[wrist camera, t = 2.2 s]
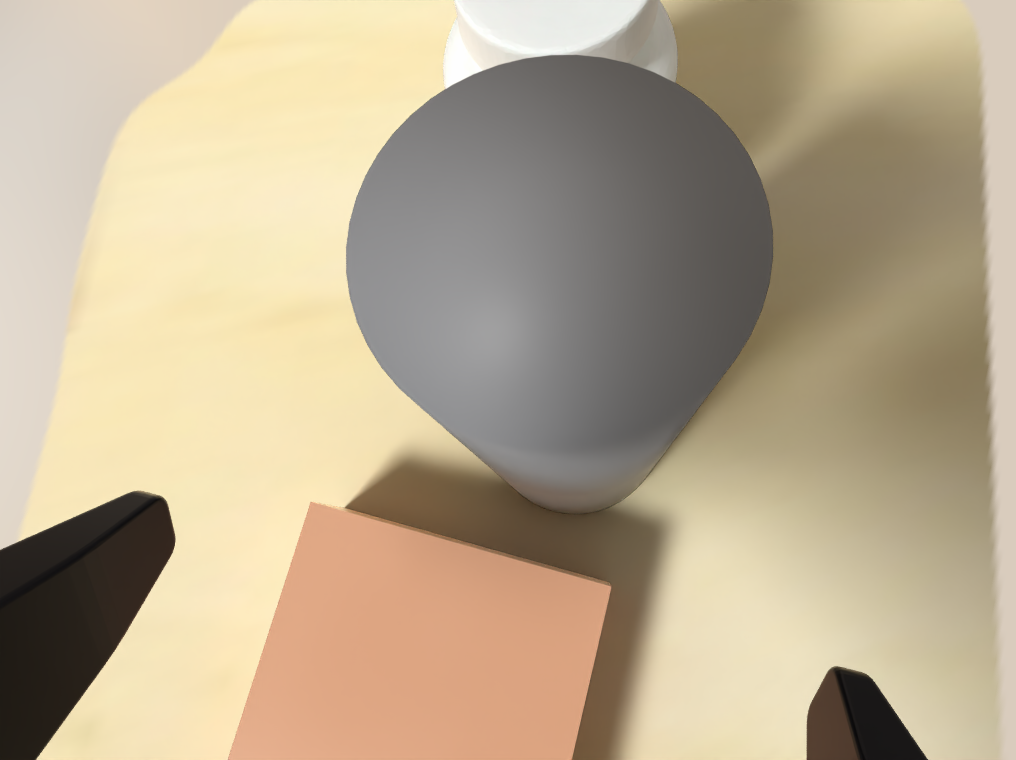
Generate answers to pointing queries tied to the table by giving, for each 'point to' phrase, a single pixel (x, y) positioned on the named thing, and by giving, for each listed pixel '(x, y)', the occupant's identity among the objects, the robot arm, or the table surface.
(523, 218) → the charcoal mill
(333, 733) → the terracotta block
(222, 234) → the table surface
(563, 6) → the supplement bottle
